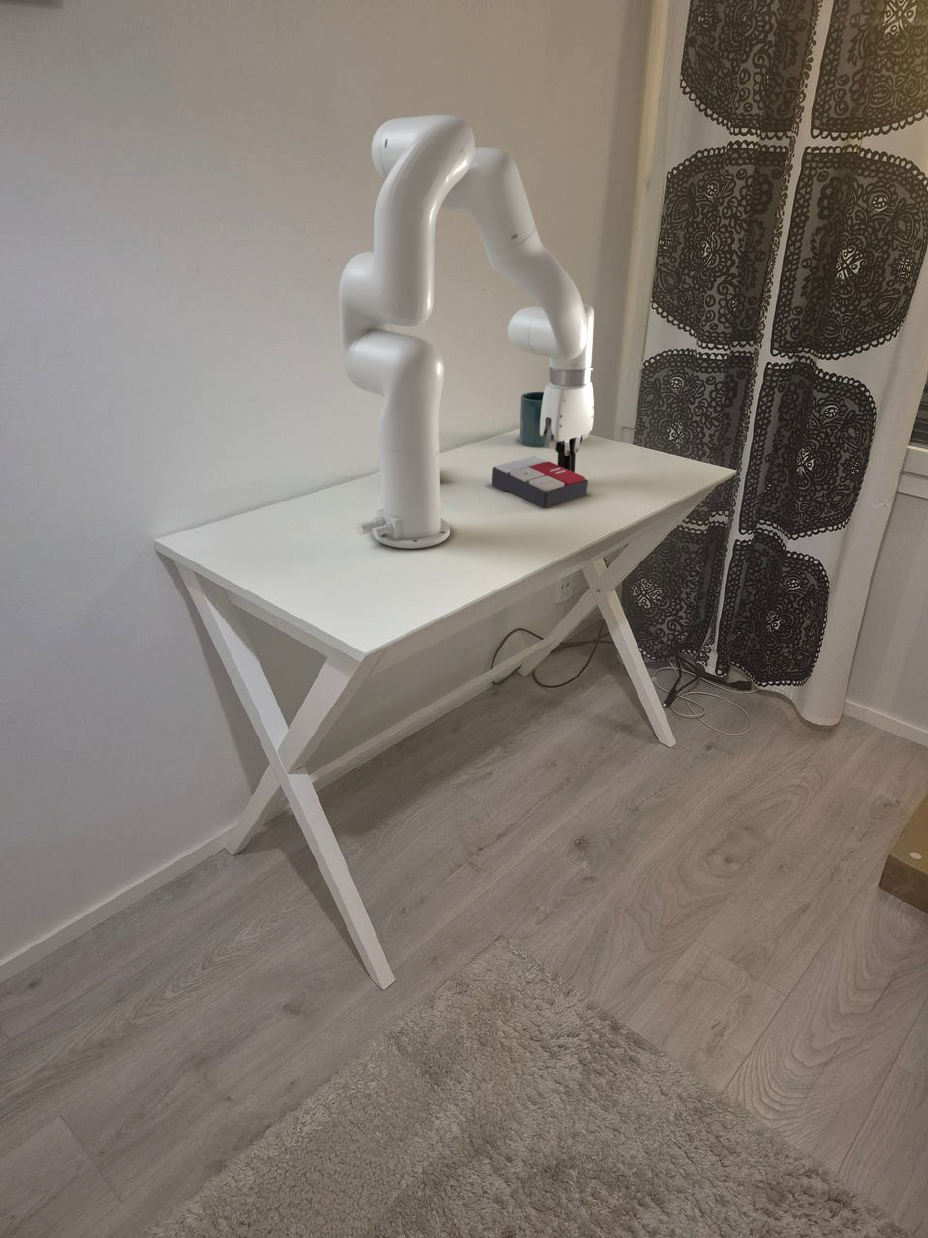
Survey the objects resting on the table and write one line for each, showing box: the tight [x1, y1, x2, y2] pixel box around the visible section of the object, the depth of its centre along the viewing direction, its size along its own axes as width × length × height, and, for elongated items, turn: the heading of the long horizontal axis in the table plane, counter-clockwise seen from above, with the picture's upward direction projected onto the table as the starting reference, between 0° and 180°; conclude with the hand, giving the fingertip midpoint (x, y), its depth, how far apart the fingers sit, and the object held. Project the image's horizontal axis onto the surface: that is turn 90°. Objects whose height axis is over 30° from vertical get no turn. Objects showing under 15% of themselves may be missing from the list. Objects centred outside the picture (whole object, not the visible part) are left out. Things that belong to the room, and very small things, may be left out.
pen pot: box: [519, 391, 546, 448], centre depth 177 cm, size 8×8×10 cm
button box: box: [491, 455, 589, 509], centre depth 151 cm, size 11×4×15 cm
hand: (566, 472), depth 155 cm, fingers closed
